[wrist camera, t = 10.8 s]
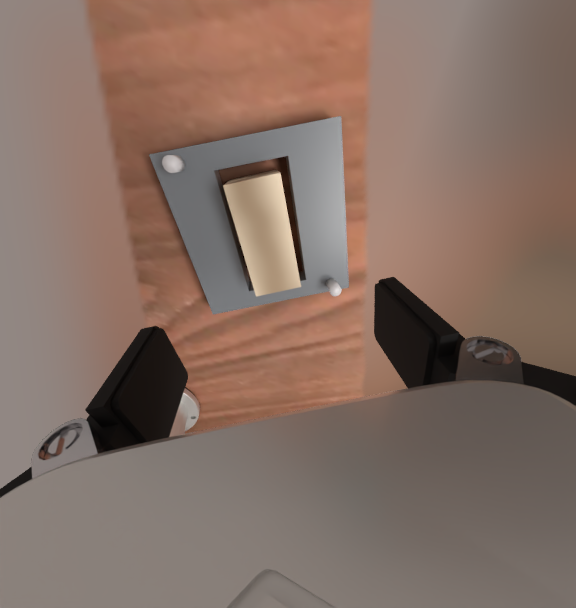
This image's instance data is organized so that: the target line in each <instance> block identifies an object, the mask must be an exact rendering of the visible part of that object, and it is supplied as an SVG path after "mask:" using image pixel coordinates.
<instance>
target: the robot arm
mask: <svg viewBox="0 0 576 608" xmlns="http://www.w3.org/2000/svg"><path fill="white" fill-rule="evenodd" d="M374 317H375V318H374V334H375V337H376V340H377V342H378V343H379V345H380V346H381V348H382V349H383V351H384V353H385V354H386V355H387V357H388V359H389V360H390V361H391V363H392V365H393V366H394V368H395V369H396V371H397V372H398V374H399V375H400V377H401V378H402V380H403V381H404V383H405V384H406V386H407V387H408V389H403V390H397V391H392V392H386V393H381V394H376V395H371V396H366V397H361V398H356V399H351V400H346V401H341V402H336V403H331V404H326V405H321V406H316V407H311V408H306V409H301V410H297V411H292V412H287V413H282V414H277V415H272V416H267V417H263V418H258V419H253V420H248V421H243V422H239V423H234V424H229V425H224V426H220V427H215V428H210V429H206V430H201V431H196V432H192V433H187V434H184V433H185V431H186V430H188V429H190V428H191V427H192V426H193V425H194V424H195V423H196V421H197V420H198V417H199V413H200V406H199V402H198V400H197V399H196V397H195V396H194V395H193V394H192V393H191V392H190V391H188V390H187V389H186V388H185V386H186V383H187V379H188V374H187V371H186V369H185V367H184V366H183V364H182V362H181V360H180V358H179V357H178V355H177V353H176V351H175V349H174V347H173V346H172V344H171V342H170V340H169V338H168V337H167V335H166V333H165V331H164V330H163V329H162V328H159V327H157V326H153V327H149V328H144V329H141V330H140V332H139V333H138V335H137V336H136V337H135V339H134V340H133V342H132V343H131V345H130V346H129V348H128V349H127V351H126V352H125V353H124V355H123V356H122V358H121V359H120V361H119V362H118V364H117V365H116V366H115V368H114V369H113V371H112V372H111V374H110V375H109V376H108V378H107V379H106V381H105V382H104V384H103V385H102V387H101V388H100V389H99V391H98V392H97V394H96V395H95V397H94V398H93V400H92V401H91V402H90V404H89V405H88V407H87V408H86V411H87V413H88V414H89V417H88V418H87V420H85V419H82V418H80V419H74V420H71V421H68V422H66V423H64V424H62V425H61V426H59V427H58V428H56V429H55V430H53V431H52V432H50V434H48V435H47V436H46V437H45V438H44V439H43V440H42V441H41V442H40V443H39V445H38V446H37V447H36V449H35V451H34V452H33V455H32V459H31V461H32V467H30V468H29V469H28V470H26V471H25V472H24V473H22V474H21V475H19V476H18V477H17V478H15V479H14V480H12V481H11V482H10V483H8V484H7V485H6V486H4V487H3V488H1V489H0V608H576V376H572V375H569V374H564V373H561V372H557V371H554V370H550V369H546V368H542V367H539V366H535V365H531V364H527V363H523V362H521V357H520V355H519V353H518V352H517V351H516V350H515V349H514V348H513V347H512V346H510V345H509V344H507V343H505V342H503V341H500V340H498V339H494V338H490V337H483V336H477V337H470V338H467V339H465V338H464V337H463V336H461V335H460V334H459V332H458V331H456V330H455V329H454V328H453V327H452V326H450V325H449V324H448V323H447V322H446V321H445V320H443V319H442V318H441V317H440V316H439V315H438V314H437V313H435V312H434V311H433V310H432V309H431V308H429V307H428V306H427V305H426V304H425V303H424V302H423V301H421V300H420V299H419V298H418V297H417V296H416V295H414V294H413V293H412V292H411V291H410V290H409V289H407V288H406V287H405V286H404V285H403V284H402V283H400V282H399V281H398V280H397V279H396V278H394V277H391V278H386V279H381V280H379V283H378V284H375V316H374Z"/></svg>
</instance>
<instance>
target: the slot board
mask: <svg viewBox="0 0 576 608" xmlns="http://www.w3.org/2000/svg"><path fill="white" fill-rule="evenodd" d="M149 156H150V158H151V161H152V163H153V166H154V168H155V171H156V173H157V176H158V178H159V181H160V183H161V186H162V188H163V191H164V193H165V196H166V198H167V201H168V203H169V206H170V208H171V211H172V213H173V216H174V218H175V221H176V223H177V226H178V228H179V231H180V233H181V236H182V238H183V241H184V243H185V246H186V248H187V251H188V253H189V256H190V258H191V261H192V263H193V266H194V268H195V271H196V273H197V276H198V278H199V281H200V283H201V286H202V288H203V291H204V293H205V296H206V298H207V301H208V303H209V306H210V308H211V310H212V313H213V314H218V313H223V312H228V311H233V310H238V309H243V308H248V307H253V306H258V305H263V304H268V303H273V302H278V301H283V300H288V299H293V298H298V297H303V296H308V295H313V294H318V293H323V292H328V291H330V293H331V295H332V296H338V295H339V294H340V293H341V289H343V288H348V287H349V280H348V257H347V235H346V213H345V191H344V168H343V146H342V124H341V116H338V117H334V118H329V119H324V120H319V121H314V122H309V123H304V124H299V125H294V126H289V127H284V128H279V129H274V130H269V131H264V132H259V133H254V134H249V135H244V136H239V137H234V138H229V139H224V140H219V141H214V142H209V143H204V144H199V145H194V146H189V147H184V148H179V149H174V150H169V151H164V152H159V153H154V154H150V155H149ZM284 156H286V163H287V169H288V176H289V183H290V189H291V196H292V202H293V209H294V216H295V222H296V229H297V236H298V242H299V249H300V256H301V262H302V269H303V271H301V272H299V278H300V283H301V287H298V288H294V289H289V290H284V291H280V292H275V293H270V294H266V295H261V296H256V295H255V291H254V288H253V284H252V281H251V282H250V281H249V277H248V274H247V270H246V267H245V263H244V260H243V256H242V252H241V249H240V245H239V242H238V238H237V235H236V231H235V228H234V224H233V221H232V217H231V213H230V210H229V206H228V203H227V199H226V196H225V192H224V189H223V185H222V181H221V178H220V174H219V171H218V170H219V169H224V168H229V167H234V166H239V165H244V164H249V163H254V162H259V161H264V160H269V159H274V158H279V157H284Z"/></svg>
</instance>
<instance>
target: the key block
mask: <svg viewBox="0 0 576 608" xmlns="http://www.w3.org/2000/svg"><path fill="white" fill-rule="evenodd" d="M223 187H224V191H225V194H226V197H227V201H228V204H229V207H230V211H231V214H232V217H233V221H234V224H235V227H236V231H237V234H238V238H239V241H240V244H241V248H242V251H243V254H244V258H245V261H246V264H247V268H248V271H249V274H250V278H251V281H252V284H253V288H254V291H255V295H256V296H261V295H266V294H270V293H275V292H280V291H284V290H289V289H294V288H298V287H301V283H300V278H299V272H298V267H297V261H296V256H295V250H294V245H293V239H292V234H291V228H290V223H289V217H288V211H287V206H286V200H285V195H284V189H283V184H282V178H281V173H280V172H279V171H277V170H272V171H267V172H263V173H258V174H254V175H249V176H245V177H240V178H236V179H231V180H230V181H228V182H227V183H226V184H224V185H223Z"/></svg>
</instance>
